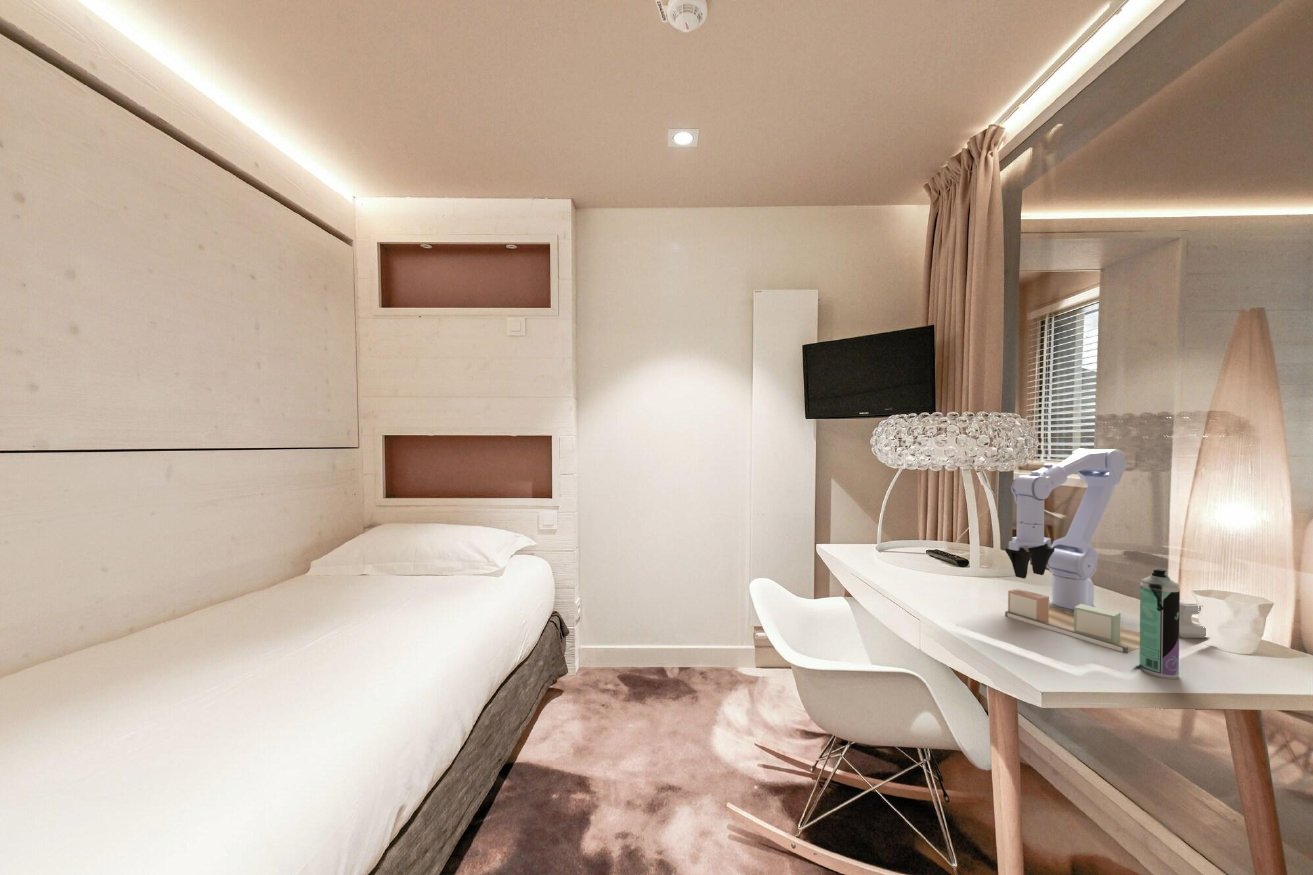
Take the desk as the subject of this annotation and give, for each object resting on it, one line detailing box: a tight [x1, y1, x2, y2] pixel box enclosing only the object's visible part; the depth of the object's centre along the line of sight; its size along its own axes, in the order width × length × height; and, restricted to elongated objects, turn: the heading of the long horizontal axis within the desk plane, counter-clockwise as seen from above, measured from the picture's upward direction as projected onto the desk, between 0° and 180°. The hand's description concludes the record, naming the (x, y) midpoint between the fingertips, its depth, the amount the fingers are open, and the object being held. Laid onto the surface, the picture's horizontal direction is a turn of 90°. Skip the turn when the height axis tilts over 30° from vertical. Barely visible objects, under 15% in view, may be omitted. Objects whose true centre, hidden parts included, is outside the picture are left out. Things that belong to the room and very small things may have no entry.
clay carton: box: [1007, 588, 1050, 622], centre depth 127 cm, size 4×7×6 cm, turn 25°
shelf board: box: [1047, 606, 1140, 654], centre depth 122 cm, size 17×24×1 cm
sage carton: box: [1073, 604, 1121, 643], centre depth 115 cm, size 4×7×6 cm, turn 34°
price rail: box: [1004, 610, 1129, 653], centre depth 118 cm, size 1×24×2 cm, turn 25°
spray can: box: [1139, 568, 1181, 680], centre depth 101 cm, size 6×6×20 cm
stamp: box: [1179, 599, 1206, 639], centre depth 118 cm, size 9×7×8 cm
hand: (1029, 575), depth 133 cm, fingers open, 7 cm apart
